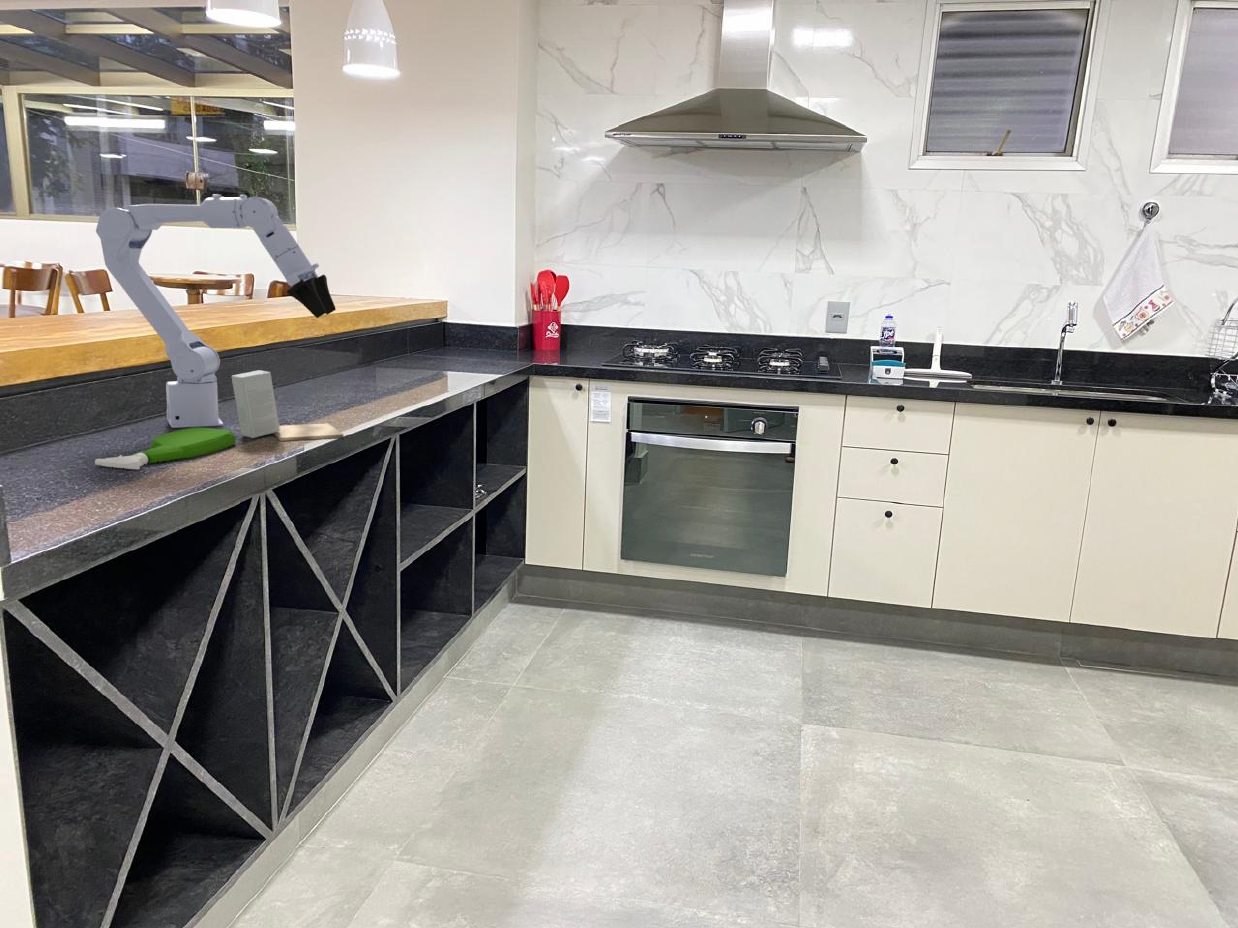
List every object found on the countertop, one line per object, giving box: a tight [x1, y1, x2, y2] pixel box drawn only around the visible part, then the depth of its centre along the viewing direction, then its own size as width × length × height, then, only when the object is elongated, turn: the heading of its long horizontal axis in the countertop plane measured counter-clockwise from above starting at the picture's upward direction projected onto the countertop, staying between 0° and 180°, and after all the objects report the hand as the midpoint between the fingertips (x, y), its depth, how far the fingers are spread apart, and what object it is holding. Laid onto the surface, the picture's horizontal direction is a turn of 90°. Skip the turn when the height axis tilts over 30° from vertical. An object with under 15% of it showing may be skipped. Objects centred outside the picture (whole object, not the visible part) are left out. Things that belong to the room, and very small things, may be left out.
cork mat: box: [271, 423, 344, 442], centre depth 177 cm, size 12×12×1 cm
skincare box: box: [231, 369, 280, 439], centre depth 171 cm, size 6×4×12 cm
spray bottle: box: [94, 426, 236, 470], centre depth 154 cm, size 3×11×24 cm
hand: (326, 313), depth 178 cm, fingers open, 7 cm apart
